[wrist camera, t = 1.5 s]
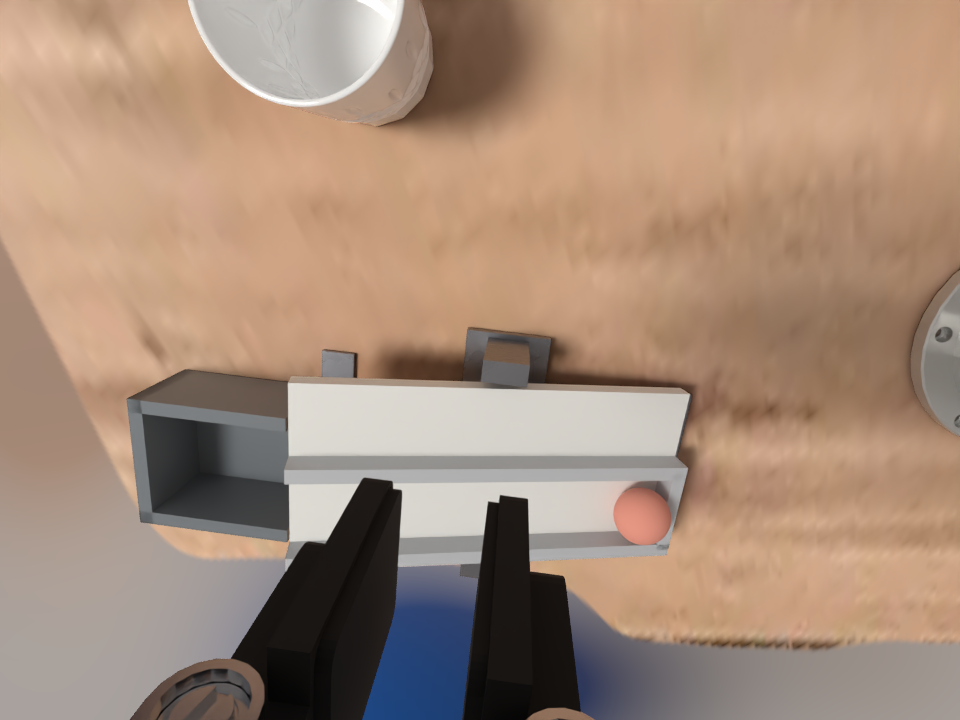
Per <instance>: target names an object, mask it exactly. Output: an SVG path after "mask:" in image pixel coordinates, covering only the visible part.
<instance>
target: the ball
mask: <svg viewBox="0 0 960 720" xmlns="http://www.w3.org/2000/svg"><path fill="white" fill-rule="evenodd" d="M613 516H614V522H615V525H616V527H617V529H618V531H619V532H620V533H621V535H622V536H623V537H625V538H626V539H627V540H629V541H630V542H632V543H635V544H638V545H651V544H655V543H657V542H659V541H660V540H662V539H663V538H664V537H665V536H666V534H667V533H668V531H669V529H670V525H671V512H670V509H669V506H668V504H667V503H666V501H665V500H664V499H663V498H662V497H661V496H660V495H659V494H658V493H656V492H655V491H653V490H651V489H647V488H632V489H630V490H627V491H625V492H624V493H623V494H622V495H621V496H620V497H619V498H618V499H617V501H616V503H615V506H614V511H613Z"/></svg>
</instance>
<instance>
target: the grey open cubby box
mask: <svg viewBox="0 0 960 720" xmlns="http://www.w3.org/2000/svg"><path fill="white" fill-rule="evenodd" d="M127 407H128V416H129V424H130V433H131V442H132V451H133V460H134V469H135V478H136V487H137V496H138V504H139V513H140V521H141V522H143V523H150V524H157V525H165V526H172V527H179V528H187V529H194V530H201V531H209V532H216V533H223V534H230V535H238V536H245V537H252V538H260V539H267V540H274V541H282V542H288V540H289V539H290V530H289V484H288V485H284V469H285V466H286V463H287V460H288V457H289V441H288V382H282V381H274V380H266V379H258V378H250V377H242V376H234V375H225V374H217V373H209V372H201V371H193V370H183V371H181V372H179V373H177V374H175V375H173V376H171V377H169V378H167V379H165V380H163V381H161V382H159V383H157V384H155V385H153V386H151V387H149V388H147V389H145V390H143V391H141V392H139V393H137V394H135V395H133V396H131V397H129V398H127Z"/></svg>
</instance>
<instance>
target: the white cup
mask: <svg viewBox="0 0 960 720" xmlns="http://www.w3.org/2000/svg"><path fill="white" fill-rule="evenodd" d="M188 4H189V7H190V11H191V14H192V17H193V20H194V22H195V25H196V27H197V29H198V31H199V33H200V36H201V37H202V39H203V41H204V43H205V45H206V46H207V48H208V49H209V51H210V53H211V54H212V55H213V57H214V58H215V59H216V61H217V62H218V63H219V64H220V66H221V67H222V68H223V69H224V70H225V71H226V72H227V73H228V74H229V75H230V76H231V77H232V78H233V79H234V80H235V81H237V82H238V83H239V84H240V85H242V86H243V87H245V88H246V89H247V90H249V91H251V92H252V93H254V94H256V95H258V96H260V97H262V98H264V99H266V100H269V101H271V102H274V103H278V104H281V105H285V106H289V107H292V108H296V109H299V110H302V111H306V112H309V113H312V114H316V115H319V116H322V117H326V118H330V119H334V120H339V121H344V122H349V123H361V124H367V125H372V126H380V125H383V124H386V123H390V122H393V121H396V120H399V119H402V118H404V117H405V116H406V115H407V114H408V113H409V112H410V111H411V110H412V109H413V108H414V107H415V106H416V105H417V104H418V103H419V102H420V101H421V100H422V99H423V97H424V95H425V92H426V89H427V86H428V83H429V80H430V78H431V75H432V72H433V69H434V64H433V48H432V35H431V32H430V30H429V27H428V24H427V19H426V15H425V11H424V8H423V5H422V2H421V0H188Z"/></svg>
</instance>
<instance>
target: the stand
mask: <svg viewBox="0 0 960 720" xmlns="http://www.w3.org/2000/svg"><path fill="white" fill-rule="evenodd" d="M550 345H551V337H546V336H537V335H529V334H520V333H512V332H503V331H495V330H486V329H478V328H469V327H468V329H467V339H466V349H465V359H464V370H463V380H462V381H470V382H486V383H494V384H503V385H511V386H519V387H527V384H528V383H535V384H545V378H546V372H547V365H548V358H549V351H550ZM322 377H339V378H355V353H349V352H341V351H333V350H323V351H322ZM691 398H692V395H691V394H690V397H689V401H688V405H687V410H686V414H685V418H684V422H683V426H682V430H681V434H680V439H679V443H678V447H677V451H676V455H675V456H676V457H677V456H678V452H679V448H680V444H681V440H682V435H683V431H684V427H685V423H686V419H687V415H688V411H689V406H690V402H691ZM479 571H480V563H478V564H461V569H460V576H465V577H472V578H479Z"/></svg>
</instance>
